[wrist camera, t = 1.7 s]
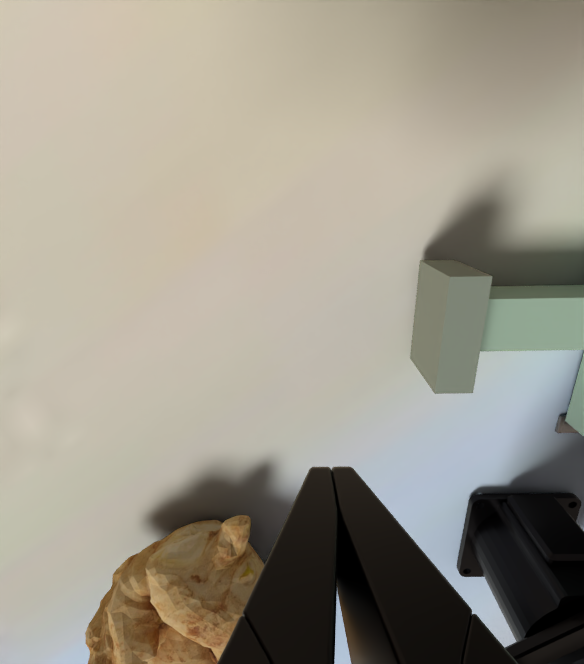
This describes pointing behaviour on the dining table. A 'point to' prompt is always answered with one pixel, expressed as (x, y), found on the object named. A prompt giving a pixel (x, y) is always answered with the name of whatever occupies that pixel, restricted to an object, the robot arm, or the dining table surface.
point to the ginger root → (177, 597)
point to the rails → (564, 426)
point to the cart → (490, 325)
